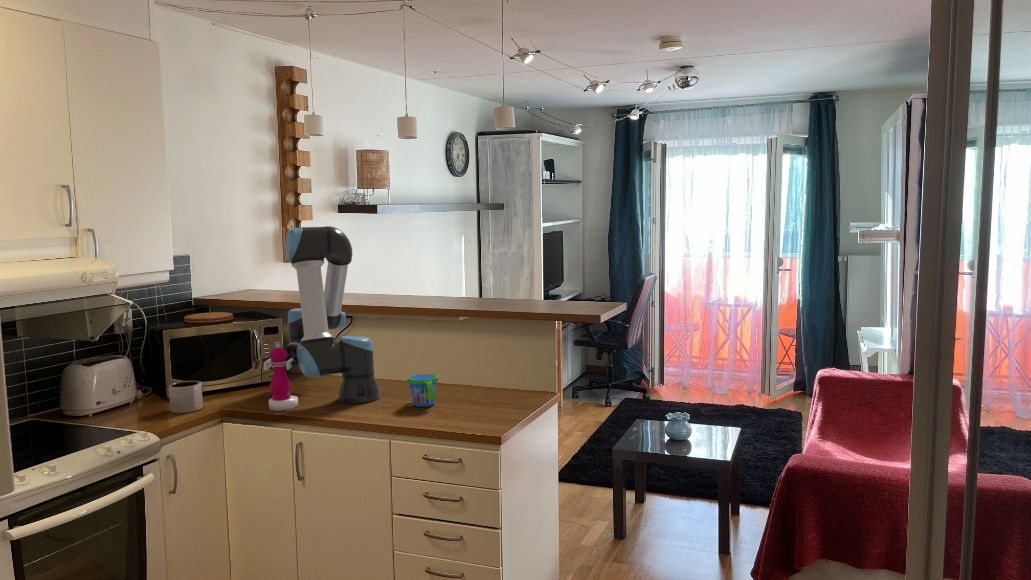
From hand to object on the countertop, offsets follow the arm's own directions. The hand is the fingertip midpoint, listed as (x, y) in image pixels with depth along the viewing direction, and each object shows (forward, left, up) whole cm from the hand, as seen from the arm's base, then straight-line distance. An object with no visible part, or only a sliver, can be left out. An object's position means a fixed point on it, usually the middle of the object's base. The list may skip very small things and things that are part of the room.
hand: (276, 366), depth 274 cm
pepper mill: (+1, -2, -13) cm, 13 cm away
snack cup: (-46, -23, -16) cm, 54 cm away
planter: (+32, +13, -16) cm, 38 cm away
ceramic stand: (0, -2, -15) cm, 16 cm away
